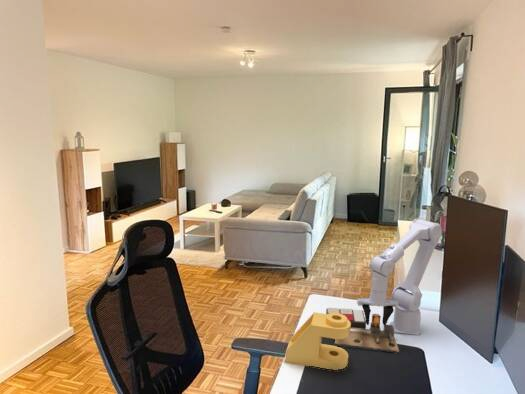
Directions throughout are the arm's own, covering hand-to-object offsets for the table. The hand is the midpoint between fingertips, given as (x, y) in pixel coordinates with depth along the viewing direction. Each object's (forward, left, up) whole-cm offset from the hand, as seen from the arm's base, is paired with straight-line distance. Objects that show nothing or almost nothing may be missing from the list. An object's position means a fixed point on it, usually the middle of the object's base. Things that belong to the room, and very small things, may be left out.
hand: (375, 323), depth 141 cm
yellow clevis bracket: (+21, +19, -6) cm, 29 cm away
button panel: (+10, -10, -6) cm, 15 cm away
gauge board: (+4, +3, -5) cm, 7 cm away
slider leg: (0, +3, -4) cm, 5 cm away
